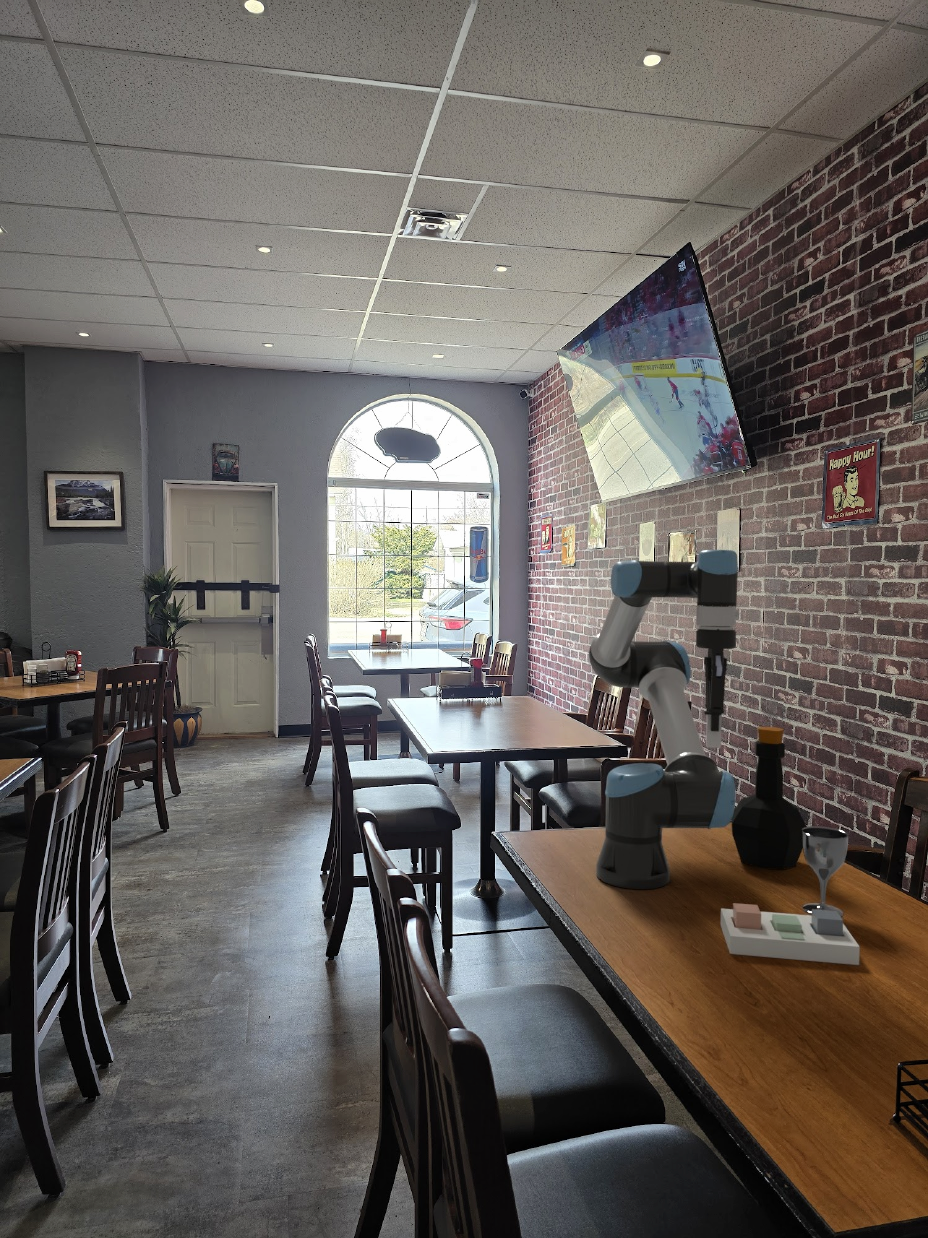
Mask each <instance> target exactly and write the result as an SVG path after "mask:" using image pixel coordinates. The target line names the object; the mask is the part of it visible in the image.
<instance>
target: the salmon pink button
mask: <svg viewBox="0 0 928 1238" xmlns="http://www.w3.org/2000/svg"><path fill="white" fill-rule="evenodd" d="M732 909H733V923H734V926H735V928H746V929H758V930H761V912H762V911H760V908H759V906H758V904H750V903H749V904H748V903H746V904H745V903H736V902H735V903H732Z"/></svg>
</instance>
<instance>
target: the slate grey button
mask: <svg viewBox="0 0 928 1238" xmlns="http://www.w3.org/2000/svg"><path fill="white" fill-rule="evenodd" d="M811 916H812V923H811V927H812V929H813V930H814V932H815V934H819V935H831V936H843V924H844V920H843V918H842V917H840V915H839V914H838V912H837V911H828V910H815V909H812V915H811Z"/></svg>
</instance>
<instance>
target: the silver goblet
mask: <svg viewBox="0 0 928 1238" xmlns="http://www.w3.org/2000/svg"><path fill="white" fill-rule="evenodd" d="M848 843H849V834H848V833H847V832H846V831H844V830H841V829H837V828H834V827H828V826H818V825H817V826H816V825H815V826H814V825H812V826H807V827H805V828H803V829H802V847H803V849H802V851H803V853H802V854H803V857H804V859H805V861H806V863H807V864H808V865H809V867H810V868H811V869H812V870H813V872H814V874H816V877H817V878H818V880H819V887H820V902H819V903H816V902H814V903H813V902H812V903H810V902H809V903H805V904H804V905H803V906H802V910H803V911H804V912H805V913H807V914H808V915H811V916H812V909H815V910H828V911H837V912H838V914H839V915H840V917H841V918H842V917H843V916H844V912H843V910H841V909H840V908H838V907H835V906H833V905H830V904H826V903H827V902H826V893H827V885H828V883H829V881H830V878H831V877H832V876H833V875H834V874H835V873H836V872H837V871H838V870H839V869H840V868H841V867H842V866H843V865H844V863H845V860H846V856H847V852H848Z"/></svg>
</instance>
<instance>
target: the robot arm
mask: <svg viewBox="0 0 928 1238" xmlns="http://www.w3.org/2000/svg"><path fill="white" fill-rule="evenodd" d="M738 565H739V564H738V554H737V552H736V551H734V550H733V549H704V550H701V551H700V552H698V555H697V561H658V560H657V561H655V560H652V561H651V560H650V561H649V560H647V561H646V560H624V561H623V560H621V561H616V563H614V565H613V566H612V569H611V575H610V588H611V589H610V590H611V592H612V595H614V597H613V599H612V602H611V604H610V606H609V609H608V612H607V614H606V617H605V619H604V622H603V624H602V627H601V629H600V633H599V634H597V635H596V636H595V637H594V638H593V640H592V641H591V644H590V647H589V653H588V658H589V663H590V665H591V668H592V670H593V672H594V673H595V674H596V675H597V677H598V678H600V679H601V680H602V681H603V682H605V683H607V684H608V685H610V686H613V687H616V688H631V689H632V688H635V689H637V688H638V691H639V694H640V695H641V697H642V698H643V699H645V700H646V701H648V704H649V706H650V710H651V714H652V717H653V720H654V723H655V724H654V725H655V727H656V730H657V734H658V737H659V741H660V744H661V748H662V752H663V755H664V758H665V761H666V764H667V765H666V767H665V768H663V767H662V765H659V764H657V763H650V762H649V763H645V762H638V763H636V762H635V763H629V764H624V765H620V766H616V767H614V768H613V769H611V770H610V771H609V772H608V774H607V776H606V786H605V791H604V794H605V831H604V832H605V834H604V835H605V836H604V837H605V838H604V842H603V845H602V847H601V849H600V854H599V855H598V859H597V861H596V868H595V869H596V871H595V872H596V873H595V876H596V877H597V878H598V879H599V880H600V879H601V880H600V881H601V882H604V883H606V884H609V885H611V886H614V887H618V888H623V889H624V888H625V889H632V890H652V889H657V888H661V887H664V886H666V885H667V884H669V883H670V880H671V879H670V877H671V874H670V873H671V872H670V866H669V863H668V859H667V855H666V853H665V849H664V845H663V842H662V841H663V838H662V837H663V829H706V830H711V829H719V828H720V829H721V828H725V827H727V826H729V824H730V823H731V822H732V821H731V819H732V817H733V814H734V809H735V808H736V797H737V796H736V785H735V779H734V777H733V775H732V773H730V772H728V771H725V770H723V771H720V770H719V767H718V766H717V762H716V761H715V760H714V759H713V758H712V757H710V756H709V755H706V753H705V749H704V747H703V744H702V740H701V737H700V735H699V732H698V728H697V726H696V724H695V721H694V717H693V714H692V711H691V708H690V705H689V702H688V700H687V696H686V694H685V690H686V688H687V685H689V683H690V680H691V674H692V672H691V669H692V668H691V665H690V662H691V661H690V658H689V653H688V652H687V649H685V647H684V645H682V644H680V643H678V642H676V641H667V640H661V641H639V640H638V641H633V639H634V638H635V635H636V633H637V631H638V628H639V626H640V625H641V622H642V620H643V617H644V616H645V613H646V611H647V608H648V606H649V604H650V602H651V600H652V599H653V598H679V599H680V598H684V599H685V598H687V599H688V598H689V599H696V617H695V619H696V622H695V625H696V626H697V627H698V628H697V630H696V632H695V633H696V635H695V644H696V647H697V648H700V649H707V656H704V657H703V664H704V677H705V704H704V707H705V710H704V715H706V727H705V731H706V732H705V746H706V748H713V749H714V748H715V749H717V748H719V749H722V721H723V720H722V719H723V717H722V714H725V713H724V712H725V709H724V704H725V702H724V701H725V688H726V687H725V685H726V675H727V669H728V668H727V667H728V658H726V657H725V655H724V654H725V653H724V650H733V649H735V648H736V646H737V631H736V629H733V628H735V627H736V626H737V618H736V617H740V612H739V611H737V605H738V604H737V602H738V601H737V598H738V572H739V566H738Z"/></svg>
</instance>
